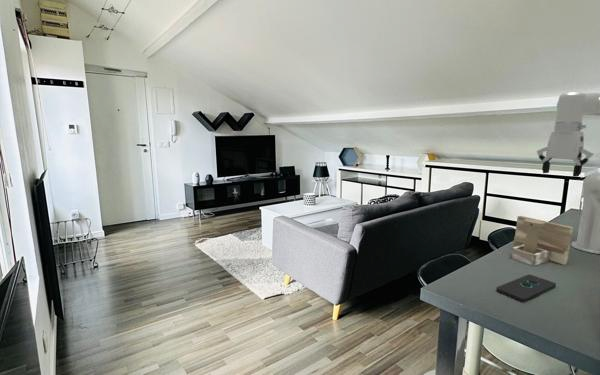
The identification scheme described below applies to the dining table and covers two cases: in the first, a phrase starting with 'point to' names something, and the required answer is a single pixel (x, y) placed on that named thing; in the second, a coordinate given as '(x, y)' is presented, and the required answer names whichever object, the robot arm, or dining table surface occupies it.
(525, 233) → the wooden wall shelf
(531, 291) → the smart home device
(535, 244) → the handle
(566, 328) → the dining table surface
